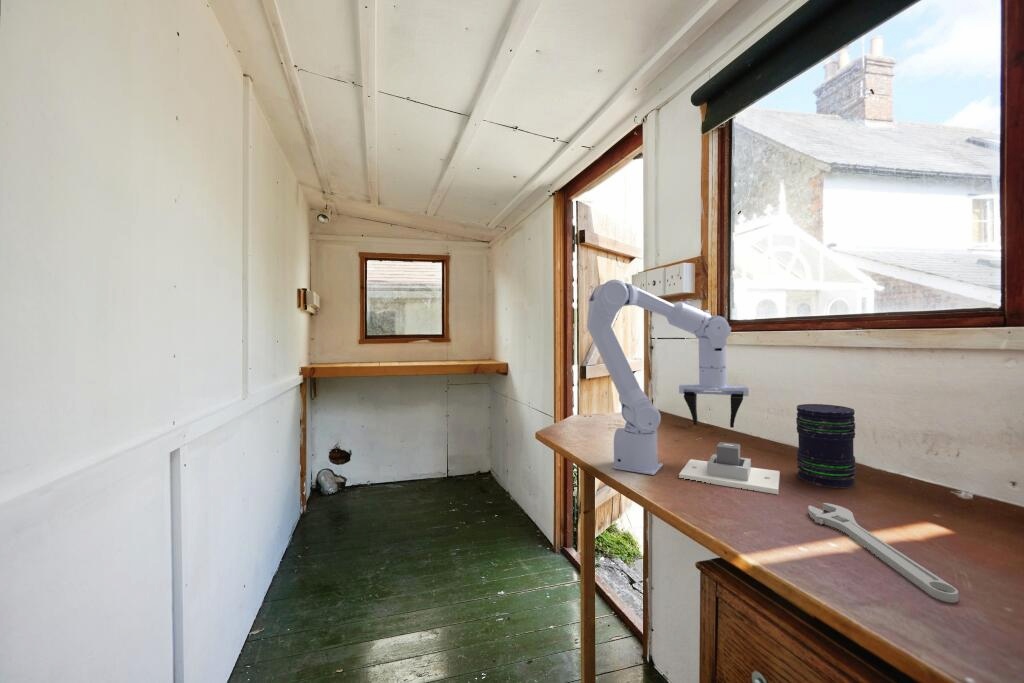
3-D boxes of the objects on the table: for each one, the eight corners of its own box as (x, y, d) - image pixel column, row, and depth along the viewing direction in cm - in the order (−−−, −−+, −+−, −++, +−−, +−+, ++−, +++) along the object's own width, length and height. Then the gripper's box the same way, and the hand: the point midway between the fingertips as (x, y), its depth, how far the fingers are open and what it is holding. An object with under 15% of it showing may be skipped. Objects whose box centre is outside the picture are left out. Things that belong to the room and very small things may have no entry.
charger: (717, 474, 90) (716, 445, 89) (720, 469, 93) (719, 441, 93) (738, 477, 87) (737, 448, 87) (740, 471, 91) (740, 443, 91)
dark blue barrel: (824, 489, 82) (823, 413, 82) (785, 473, 92) (784, 405, 92) (869, 486, 84) (868, 411, 83) (826, 470, 93) (825, 403, 93)
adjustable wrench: (966, 608, 48) (966, 593, 48) (901, 603, 49) (901, 588, 49) (841, 513, 73) (840, 503, 73) (799, 511, 74) (799, 501, 74)
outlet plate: (679, 478, 91) (678, 462, 90) (690, 463, 100) (690, 448, 100) (778, 494, 81) (777, 476, 80) (779, 475, 91) (779, 459, 90)
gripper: (677, 368, 98) (678, 426, 98) (748, 369, 91) (749, 431, 91) (680, 365, 104) (681, 420, 104) (747, 366, 97) (748, 425, 98)
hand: (713, 425), depth 98 cm, fingers open, 7 cm apart
